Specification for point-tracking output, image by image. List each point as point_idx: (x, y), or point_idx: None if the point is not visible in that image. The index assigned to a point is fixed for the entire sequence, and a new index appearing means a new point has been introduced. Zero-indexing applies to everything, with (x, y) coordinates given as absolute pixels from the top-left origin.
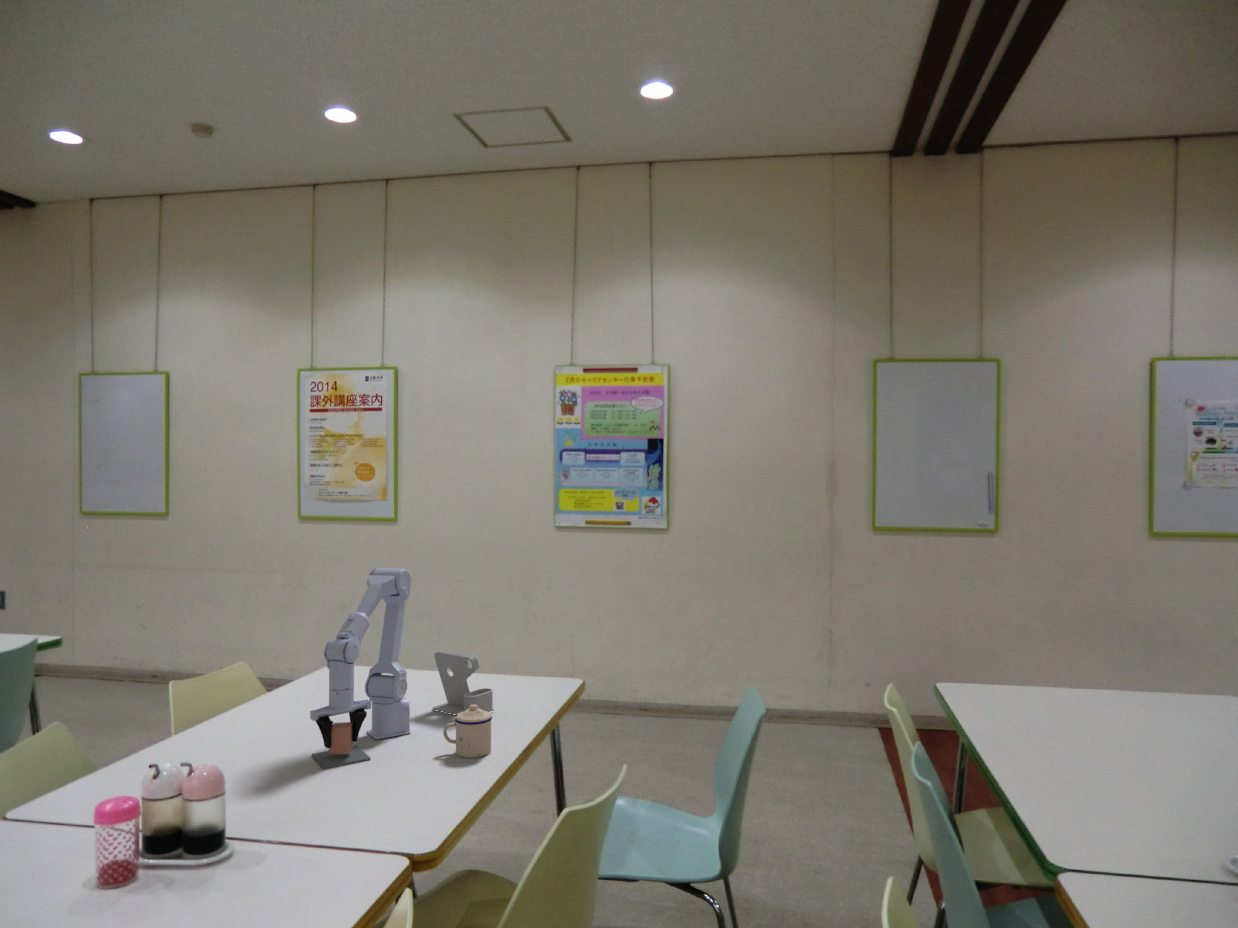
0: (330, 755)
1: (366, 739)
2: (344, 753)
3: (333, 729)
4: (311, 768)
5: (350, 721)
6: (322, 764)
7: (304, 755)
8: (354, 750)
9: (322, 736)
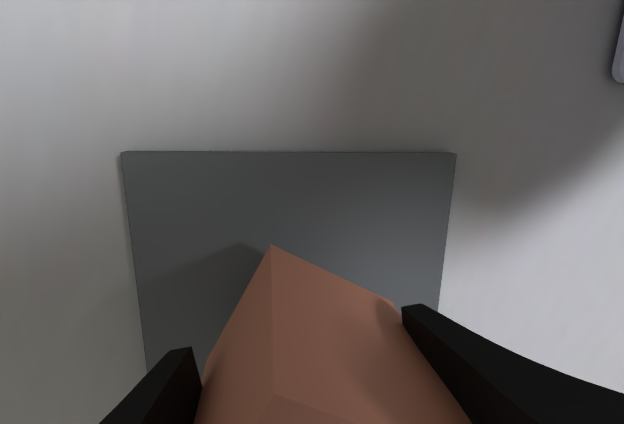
0: (239, 260)
1: (572, 10)
2: (329, 271)
3: None
4: (95, 382)
5: (504, 401)
6: None
7: (75, 103)
8: (402, 248)
9: (114, 412)
